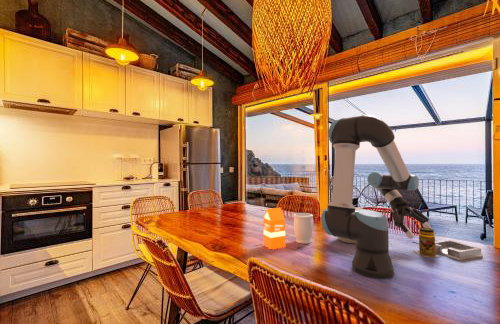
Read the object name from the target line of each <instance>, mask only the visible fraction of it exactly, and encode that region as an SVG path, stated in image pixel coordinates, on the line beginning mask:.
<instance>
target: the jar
mask: <svg viewBox="0 0 500 324" xmlns="http://www.w3.org/2000/svg"><path fill="white" fill-rule="evenodd" d="M313 216H314V215H313V213H308V212H296V213H293V218H294V219H293V230H294V236H295V238H296V239H295V242H297V243H298V244H304V245H305V244H310V243H312V239H311V238H312V236H313V229H314V221H313Z"/></svg>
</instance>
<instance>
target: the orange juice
mask: <svg viewBox="0 0 500 324" xmlns="http://www.w3.org/2000/svg"><path fill="white" fill-rule="evenodd" d="M264 245H265V246H264ZM263 246H264V247H266V248H267V247H268V249H269V250H270V249H273V250H276V249H277V248H278V249H282V247H283V248H286V218H285V216H284V213H283V210H282V207H273V208H266V211H265V214H264V216H263ZM278 249H277V250H278Z"/></svg>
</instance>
